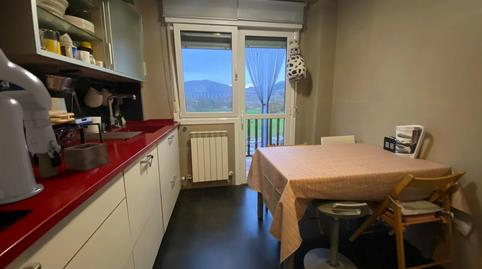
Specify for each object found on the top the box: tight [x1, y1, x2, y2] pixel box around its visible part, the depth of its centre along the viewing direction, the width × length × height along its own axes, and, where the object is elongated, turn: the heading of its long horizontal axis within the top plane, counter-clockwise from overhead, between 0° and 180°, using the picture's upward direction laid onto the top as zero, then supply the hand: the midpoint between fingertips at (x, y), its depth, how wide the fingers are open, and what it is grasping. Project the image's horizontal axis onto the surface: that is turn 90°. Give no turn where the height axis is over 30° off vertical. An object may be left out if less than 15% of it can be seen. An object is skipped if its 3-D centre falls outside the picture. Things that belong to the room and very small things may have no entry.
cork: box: [36, 152, 60, 178], centre depth 86 cm, size 6×6×11 cm
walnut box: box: [62, 142, 110, 172], centre depth 96 cm, size 11×11×9 cm
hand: (48, 165), depth 87 cm, fingers open, 9 cm apart
